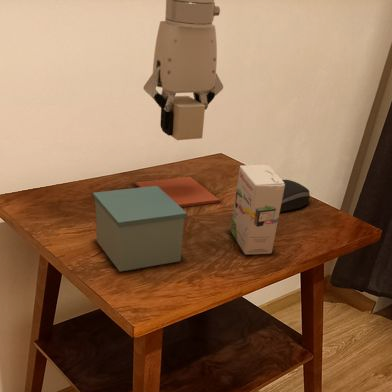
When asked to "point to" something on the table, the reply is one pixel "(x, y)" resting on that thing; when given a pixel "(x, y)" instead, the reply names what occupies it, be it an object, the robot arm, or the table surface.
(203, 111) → the small box
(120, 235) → the storage box
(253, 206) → the ink box
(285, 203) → the computer mouse
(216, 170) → the table surface
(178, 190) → the mat
